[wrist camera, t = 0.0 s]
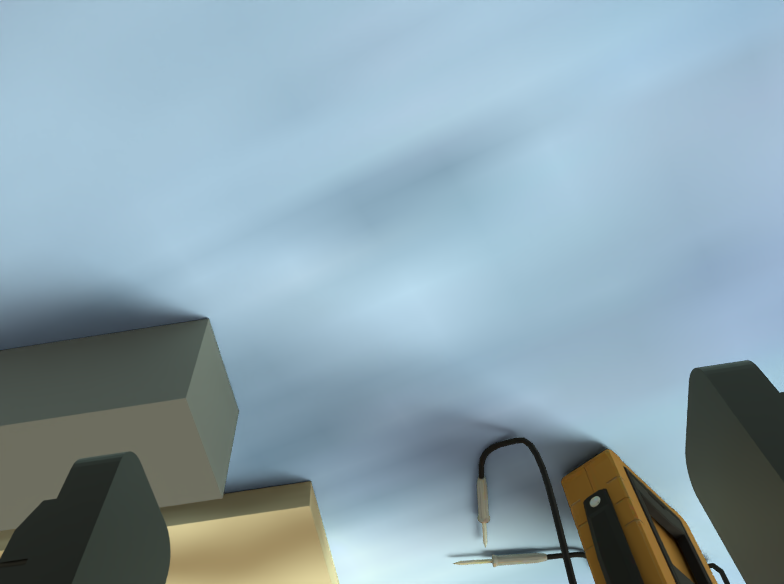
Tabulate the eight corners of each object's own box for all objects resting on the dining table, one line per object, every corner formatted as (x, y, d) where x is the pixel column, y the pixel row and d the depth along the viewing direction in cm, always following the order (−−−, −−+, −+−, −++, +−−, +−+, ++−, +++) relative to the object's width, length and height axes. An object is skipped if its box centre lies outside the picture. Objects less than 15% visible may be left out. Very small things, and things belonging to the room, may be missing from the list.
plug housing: (-52, 358, 30) (-118, 443, 26) (208, 318, 30) (185, 398, 25) (-2, 447, 32) (-56, 538, 28) (238, 411, 32) (222, 498, 28)
